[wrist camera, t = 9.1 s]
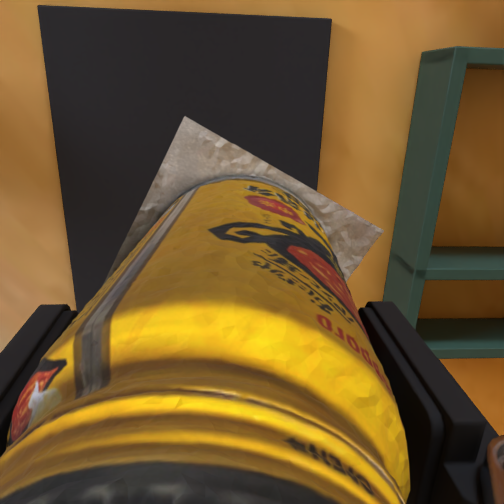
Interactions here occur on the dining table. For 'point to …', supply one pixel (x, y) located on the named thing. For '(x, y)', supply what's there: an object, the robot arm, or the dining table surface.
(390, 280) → the caddy
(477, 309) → the dining table surface
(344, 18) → the dining table surface
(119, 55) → the mat
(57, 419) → the condiment
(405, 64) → the dining table surface
